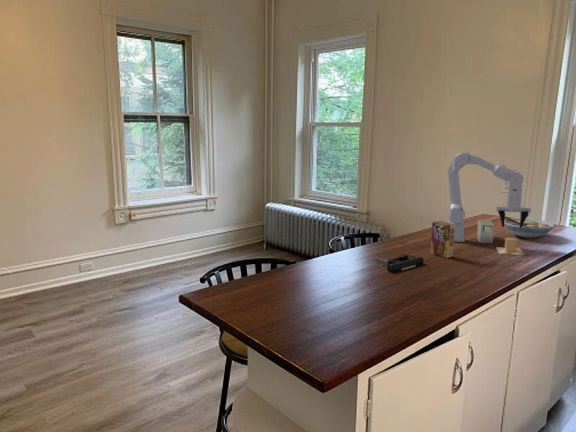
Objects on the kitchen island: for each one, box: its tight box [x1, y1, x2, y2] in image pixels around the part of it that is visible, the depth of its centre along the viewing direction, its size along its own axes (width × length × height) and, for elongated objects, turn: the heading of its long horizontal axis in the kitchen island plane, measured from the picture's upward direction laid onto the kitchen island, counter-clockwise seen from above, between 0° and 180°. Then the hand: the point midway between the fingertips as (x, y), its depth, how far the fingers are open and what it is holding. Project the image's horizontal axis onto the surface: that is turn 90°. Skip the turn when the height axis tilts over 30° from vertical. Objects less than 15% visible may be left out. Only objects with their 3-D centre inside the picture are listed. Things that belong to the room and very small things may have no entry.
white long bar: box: [483, 226, 492, 232], centre depth 218 cm, size 3×18×2 cm, turn 163°
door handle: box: [374, 254, 425, 272], centre depth 181 cm, size 3×20×16 cm
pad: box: [495, 246, 526, 256], centre depth 197 cm, size 10×10×1 cm
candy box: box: [430, 219, 455, 259], centre depth 192 cm, size 9×4×15 cm, turn 39°
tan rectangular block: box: [503, 237, 518, 252], centre depth 196 cm, size 4×4×6 cm
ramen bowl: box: [504, 216, 555, 239], centre depth 223 cm, size 25×23×8 cm
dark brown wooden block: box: [476, 219, 495, 244], centre depth 217 cm, size 6×12×9 cm, turn 163°
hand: (511, 226), depth 205 cm, fingers open, 7 cm apart
